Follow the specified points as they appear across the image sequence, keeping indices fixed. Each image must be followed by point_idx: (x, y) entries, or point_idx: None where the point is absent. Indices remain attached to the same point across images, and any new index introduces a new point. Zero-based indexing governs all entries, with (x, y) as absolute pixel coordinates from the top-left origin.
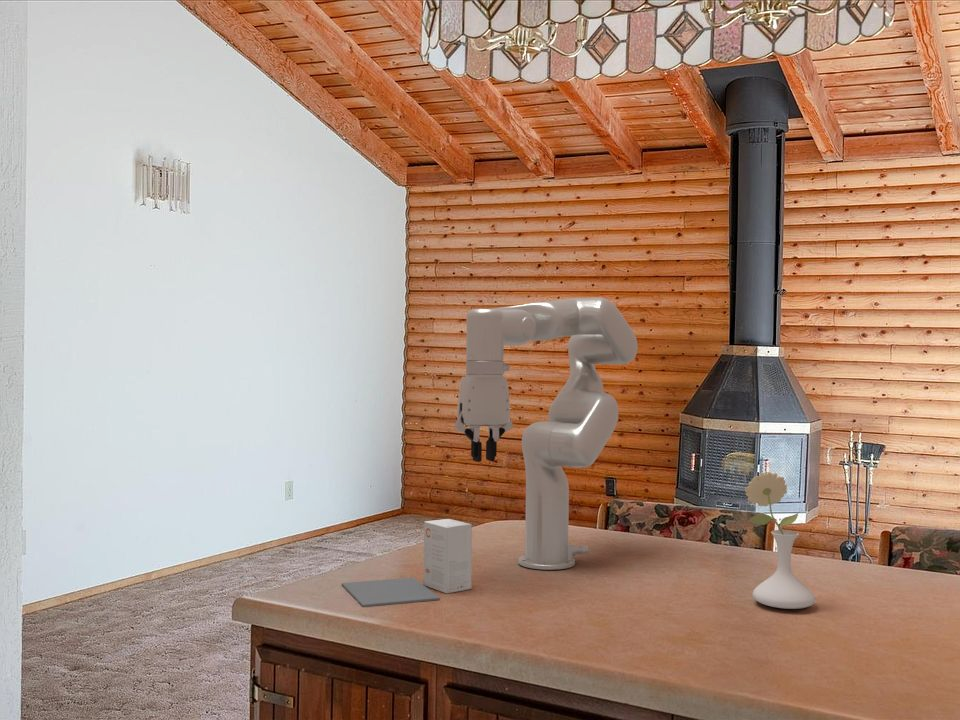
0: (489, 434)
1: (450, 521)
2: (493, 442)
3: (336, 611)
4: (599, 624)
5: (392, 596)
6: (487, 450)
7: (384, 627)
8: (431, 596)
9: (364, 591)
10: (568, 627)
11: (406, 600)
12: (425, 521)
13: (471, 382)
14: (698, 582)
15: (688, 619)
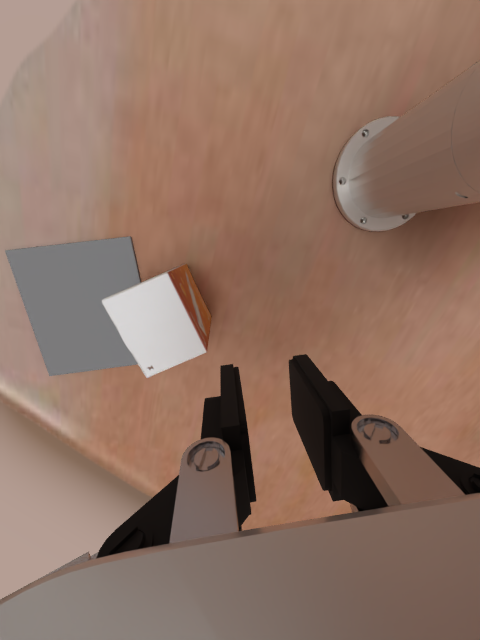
0: (367, 469)
1: (164, 316)
2: (337, 495)
3: (16, 386)
4: (307, 471)
5: (91, 343)
6: (303, 399)
7: (81, 451)
8: None
9: (48, 309)
10: (273, 475)
11: (110, 366)
12: (103, 303)
13: None
14: None
15: None
